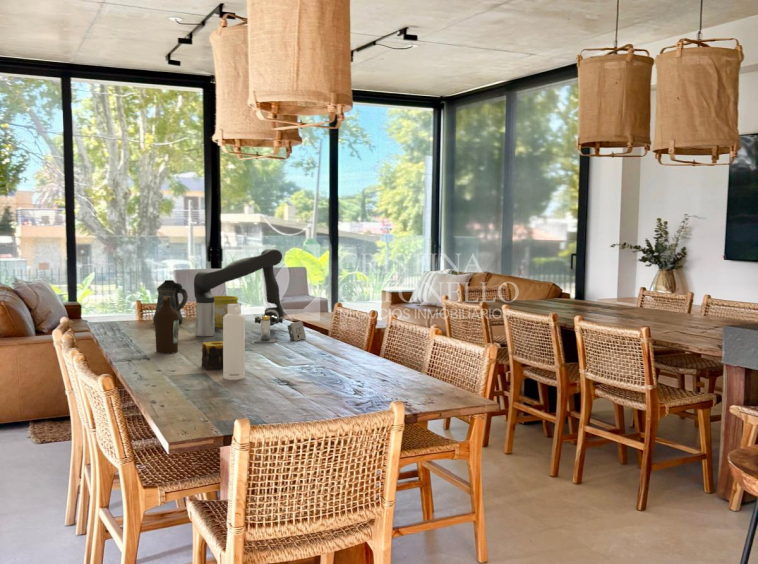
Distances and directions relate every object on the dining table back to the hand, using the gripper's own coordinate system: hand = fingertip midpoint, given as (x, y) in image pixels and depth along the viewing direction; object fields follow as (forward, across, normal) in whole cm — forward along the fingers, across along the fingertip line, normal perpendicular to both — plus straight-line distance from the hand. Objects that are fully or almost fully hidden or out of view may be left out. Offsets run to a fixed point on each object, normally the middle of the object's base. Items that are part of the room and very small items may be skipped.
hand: (267, 321), depth 362 cm
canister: (+10, 0, +8) cm, 13 cm away
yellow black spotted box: (+74, -12, +9) cm, 76 cm away
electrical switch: (+4, +15, +9) cm, 18 cm away
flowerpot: (-42, -30, +9) cm, 52 cm away
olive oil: (+40, -41, +9) cm, 58 cm away
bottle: (+93, -2, +9) cm, 94 cm away
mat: (+10, 0, +8) cm, 13 cm away
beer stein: (-50, -61, +9) cm, 80 cm away
